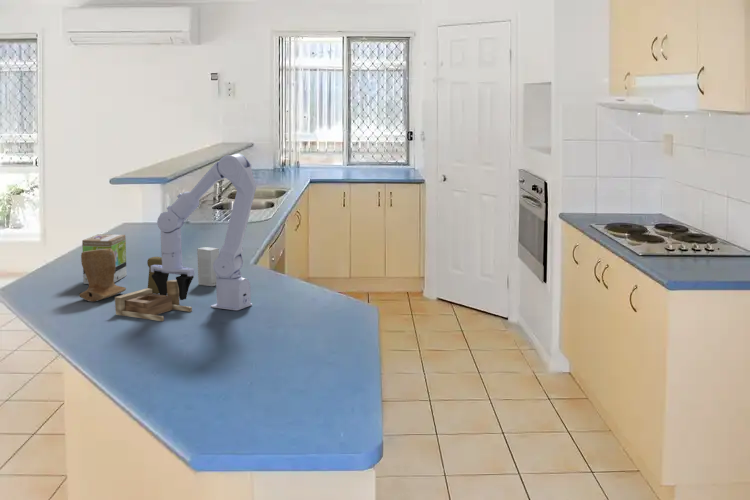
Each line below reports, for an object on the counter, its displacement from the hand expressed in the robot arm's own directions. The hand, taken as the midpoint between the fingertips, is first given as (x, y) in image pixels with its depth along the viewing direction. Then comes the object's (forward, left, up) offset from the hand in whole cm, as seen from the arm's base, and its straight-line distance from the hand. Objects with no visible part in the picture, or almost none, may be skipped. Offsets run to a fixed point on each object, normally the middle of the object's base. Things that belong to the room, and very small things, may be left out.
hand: (173, 298), depth 243 cm
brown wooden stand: (+26, +2, -2) cm, 26 cm away
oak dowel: (0, 0, -2) cm, 2 cm away
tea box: (+43, -18, -2) cm, 46 cm away
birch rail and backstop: (-2, +10, -2) cm, 11 cm away
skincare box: (+8, -28, -2) cm, 29 cm away
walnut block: (0, +10, -2) cm, 11 cm away
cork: (+16, -12, -2) cm, 20 cm away
